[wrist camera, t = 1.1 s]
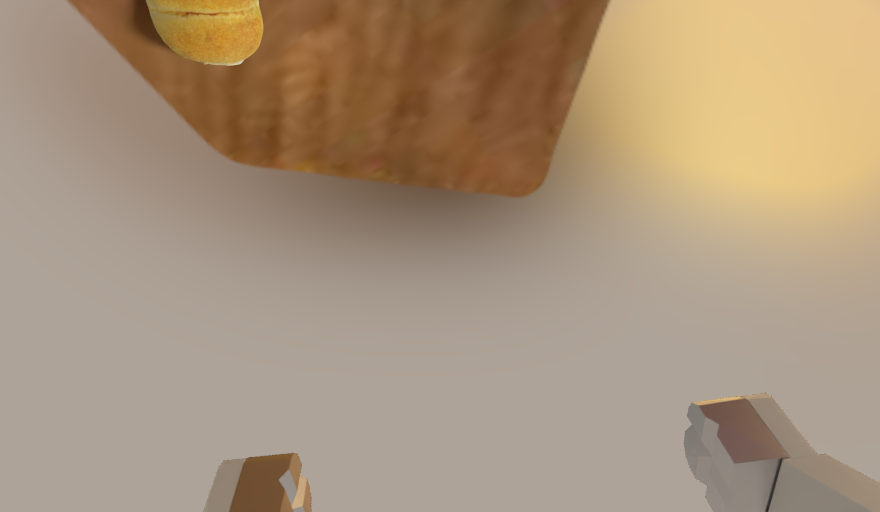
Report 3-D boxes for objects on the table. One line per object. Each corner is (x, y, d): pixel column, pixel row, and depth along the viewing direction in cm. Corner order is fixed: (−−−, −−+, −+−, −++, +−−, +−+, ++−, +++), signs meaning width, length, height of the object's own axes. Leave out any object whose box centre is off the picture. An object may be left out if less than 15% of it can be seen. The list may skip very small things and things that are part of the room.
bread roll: (256, -62, 42) (248, -44, 39) (268, 56, 48) (262, 79, 45) (134, -74, 40) (117, -55, 38) (162, 49, 47) (149, 73, 44)
